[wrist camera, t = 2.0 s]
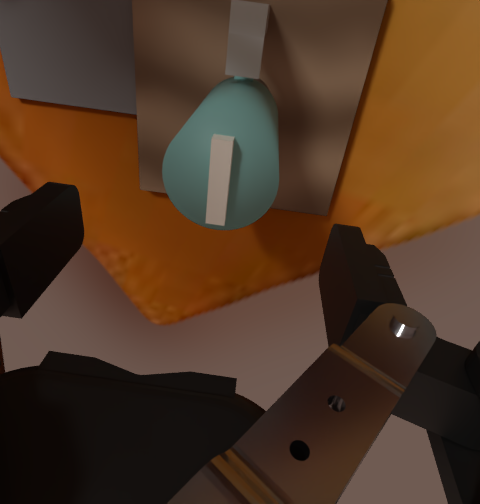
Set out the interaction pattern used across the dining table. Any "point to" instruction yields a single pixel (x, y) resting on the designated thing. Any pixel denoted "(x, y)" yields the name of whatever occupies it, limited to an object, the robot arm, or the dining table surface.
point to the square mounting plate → (257, 78)
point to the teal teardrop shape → (226, 157)
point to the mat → (70, 52)
